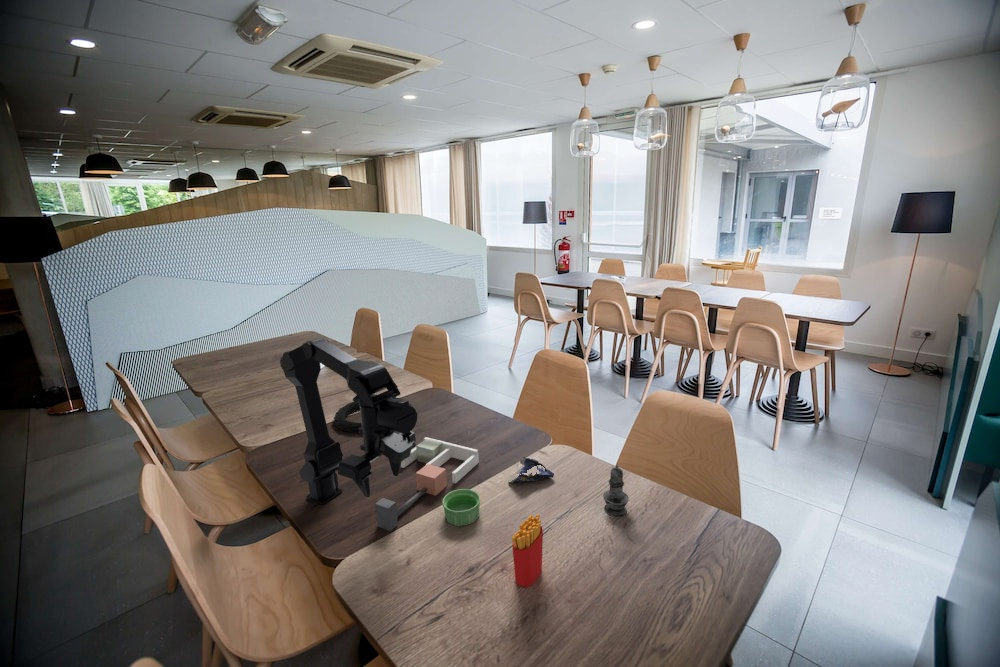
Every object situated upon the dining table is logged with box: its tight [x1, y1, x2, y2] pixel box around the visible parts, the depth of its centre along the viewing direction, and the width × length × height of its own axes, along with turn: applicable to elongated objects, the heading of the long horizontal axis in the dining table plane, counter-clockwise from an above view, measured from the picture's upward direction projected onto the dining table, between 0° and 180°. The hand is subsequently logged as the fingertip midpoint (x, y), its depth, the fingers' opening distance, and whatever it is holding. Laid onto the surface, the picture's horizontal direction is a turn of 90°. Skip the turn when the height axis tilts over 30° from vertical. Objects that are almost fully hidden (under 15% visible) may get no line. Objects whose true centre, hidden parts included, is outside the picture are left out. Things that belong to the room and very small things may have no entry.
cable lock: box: [333, 396, 412, 434], centre depth 162 cm, size 28×4×30 cm
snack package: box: [509, 456, 555, 484], centre depth 122 cm, size 12×6×12 cm
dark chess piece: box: [603, 464, 629, 518], centre depth 106 cm, size 6×6×12 cm
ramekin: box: [441, 488, 481, 527], centre depth 106 cm, size 9×9×4 cm
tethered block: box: [374, 463, 448, 532], centre depth 111 cm, size 21×6×6 cm, turn 151°
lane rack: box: [400, 436, 480, 484], centre depth 129 cm, size 12×19×4 cm, turn 61°
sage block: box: [416, 439, 443, 464], centre depth 133 cm, size 5×6×5 cm
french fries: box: [511, 513, 544, 588], centre depth 87 cm, size 8×4×12 cm, turn 145°
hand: (382, 485), depth 102 cm, fingers open, 9 cm apart
